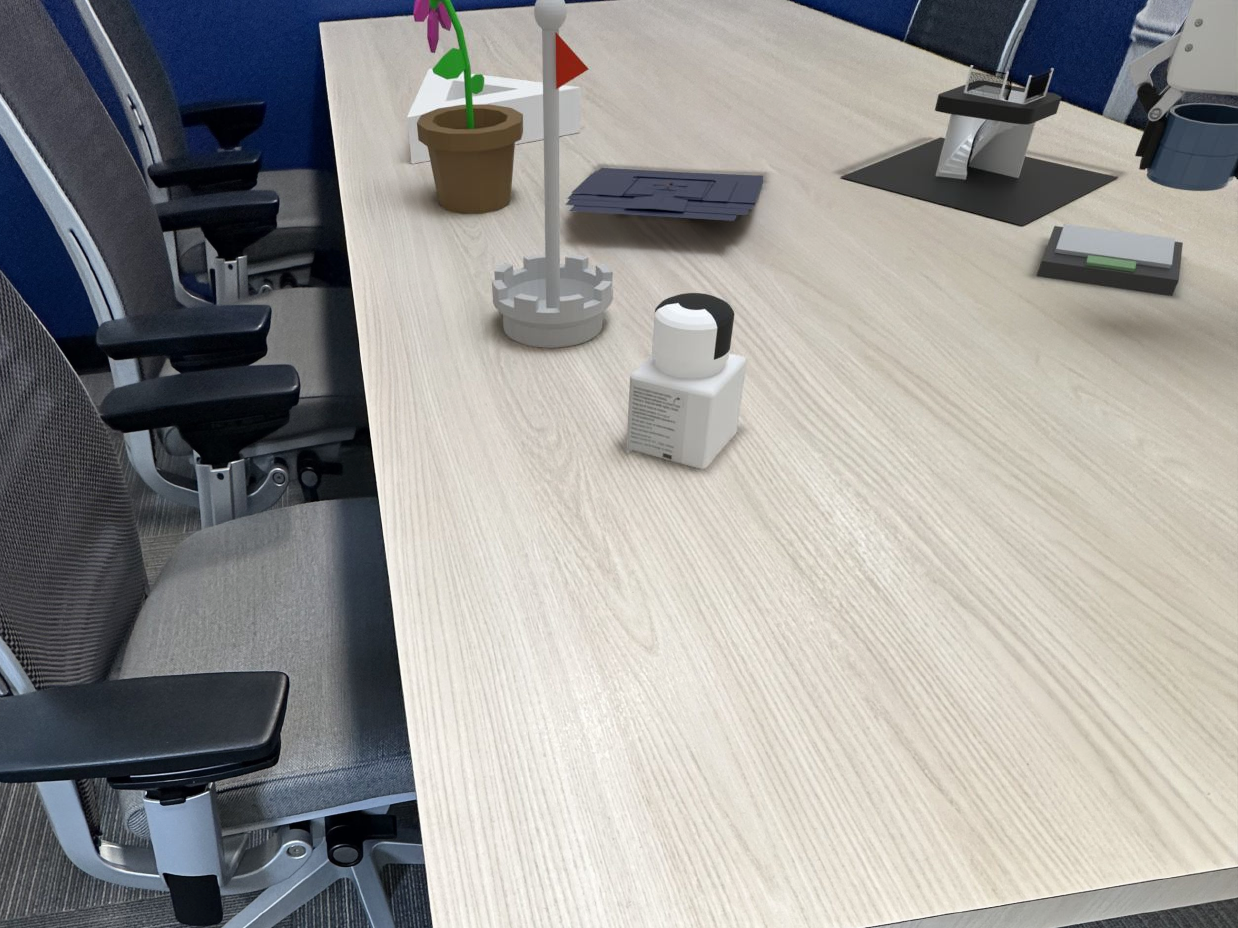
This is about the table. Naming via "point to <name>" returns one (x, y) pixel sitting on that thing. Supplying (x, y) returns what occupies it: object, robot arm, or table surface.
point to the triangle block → (495, 92)
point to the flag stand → (553, 230)
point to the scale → (1113, 259)
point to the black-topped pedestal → (987, 155)
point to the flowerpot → (466, 129)
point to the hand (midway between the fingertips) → (1190, 169)
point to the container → (687, 383)
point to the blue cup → (1197, 148)
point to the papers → (667, 193)
